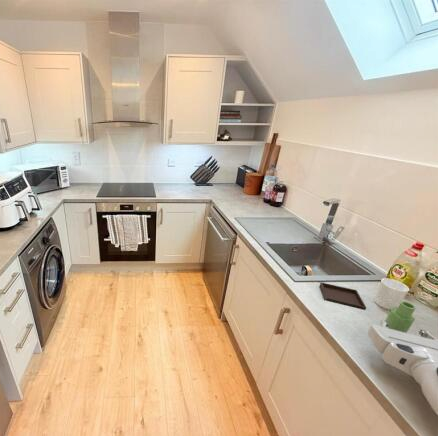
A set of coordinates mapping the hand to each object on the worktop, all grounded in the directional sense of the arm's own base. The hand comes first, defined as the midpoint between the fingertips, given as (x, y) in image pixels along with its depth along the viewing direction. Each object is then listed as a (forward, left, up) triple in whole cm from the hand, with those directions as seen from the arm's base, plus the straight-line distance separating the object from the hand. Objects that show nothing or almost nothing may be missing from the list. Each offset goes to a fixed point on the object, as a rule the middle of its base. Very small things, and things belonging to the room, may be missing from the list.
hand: (402, 326), depth 74 cm
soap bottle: (0, -2, -10) cm, 10 cm away
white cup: (-8, -25, -10) cm, 28 cm away
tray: (+8, -22, -10) cm, 26 cm away
